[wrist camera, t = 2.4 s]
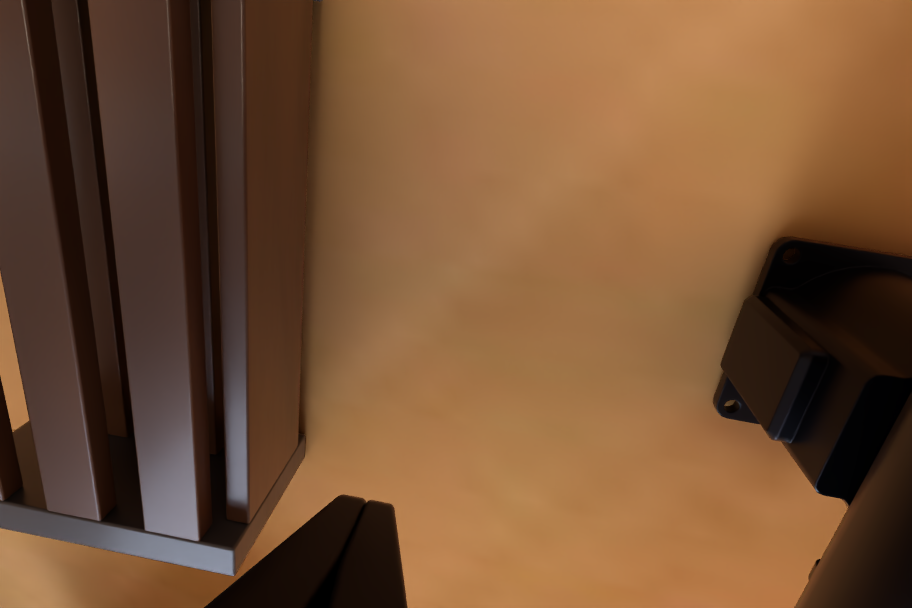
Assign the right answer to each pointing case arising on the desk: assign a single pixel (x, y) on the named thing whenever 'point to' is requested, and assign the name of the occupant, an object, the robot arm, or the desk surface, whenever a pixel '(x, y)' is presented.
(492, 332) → the desk surface
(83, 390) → the rack
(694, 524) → the desk surface
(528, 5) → the desk surface
